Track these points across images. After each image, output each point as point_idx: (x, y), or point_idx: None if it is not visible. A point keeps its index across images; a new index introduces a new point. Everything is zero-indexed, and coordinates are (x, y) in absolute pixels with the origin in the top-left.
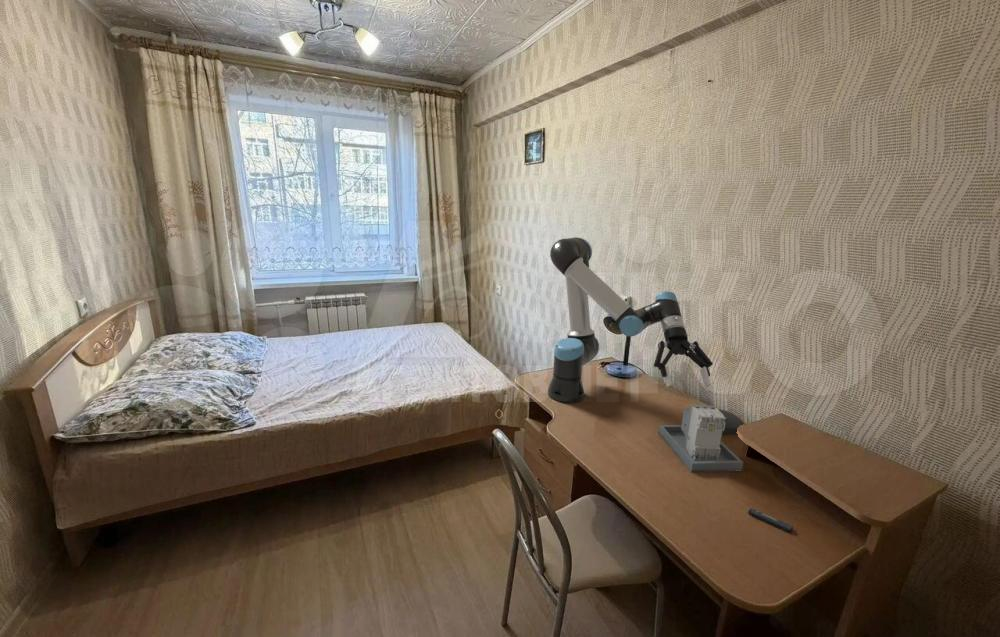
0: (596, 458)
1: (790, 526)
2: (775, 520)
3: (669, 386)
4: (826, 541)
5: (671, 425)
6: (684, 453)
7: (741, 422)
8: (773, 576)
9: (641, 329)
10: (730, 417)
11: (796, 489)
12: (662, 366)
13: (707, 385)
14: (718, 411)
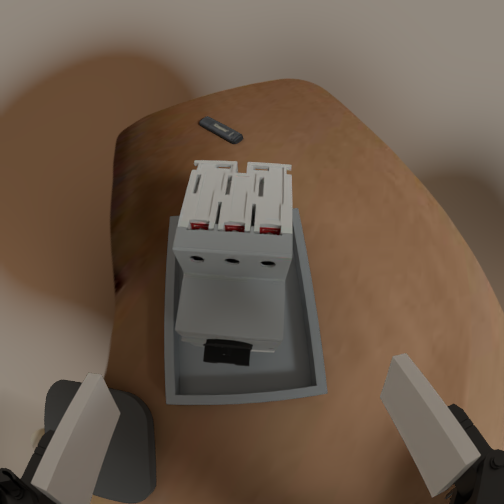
0: (460, 260)
1: (204, 118)
2: (216, 123)
3: (384, 387)
4: (174, 115)
5: (284, 398)
6: (303, 244)
7: (49, 407)
8: (270, 89)
9: None
10: None
11: (117, 188)
12: (491, 455)
13: (108, 389)
14: (190, 200)
